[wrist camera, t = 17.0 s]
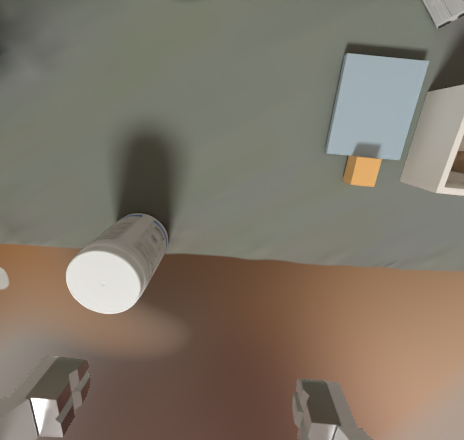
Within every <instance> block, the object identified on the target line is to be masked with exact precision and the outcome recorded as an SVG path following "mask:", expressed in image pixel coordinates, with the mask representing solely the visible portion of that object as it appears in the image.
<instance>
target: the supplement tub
mask: <svg viewBox="0 0 464 440" xmlns="http://www.w3.org/2000/svg"><path fill="white" fill-rule="evenodd" d="M167 247H168V235H167V232H166V230H165V228H164V226H163V225H162V224H161V223H160V222H159V221H158V220H157V219H155V218H154V217H152V216H150V215H147V214H142V213H134V214H129V215H127V216H124V217H123V218H121V219H120V220H119V221H117V222H116V223H115V224H114V225H112V226H111V227H110V228H109V229H107V230H106V231H105V232H104V233H102V234H101V235H100V236H99V237H97V238H96V239H95V240H94V241H92V242H91V243H90V244H88V245H87V246H86V247H85V248H84V249H82V250H81V251H80V252H79V253H78V254H77V255H76V257H75V258H74V259H73V260H72V261H71V262H70V264H69V266H68V268H67V271H66V282H67V286H68V288H69V290H70V292H71V293H72V295H73V297H74V298H75V299H76V300H77V301H78V302H79V303H80V304H82V305H83V306H85V307H86V308H88V309H90V310H93V311H95V312H99V313H105V314H114V313H119V312H123V311H125V310H127V309H129V308H130V307H131V306H133V305H134V304H135V302H136V301H137V300H138V298H139V297H140V296H141V295H142V293H143V291H144V290H145V288H146V286H147V284H148V283H149V281H150V279H151V277H152V275H153V274H154V272H155V270H156V268H157V266H158V264H159V263H160V261H161V259H162V257H163V255H164V254H165V252H166V250H167Z"/></svg>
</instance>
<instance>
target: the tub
mask: <svg viewBox="0 0 464 440" xmlns="http://www.w3.org/2000/svg"><path fill="white" fill-rule="evenodd" d="M463 136H464V85H459V86H454V87H449V88H444V89H439V90H434V91H429V92H427V95H426V98H425V101H424V104H423V108H422V111H421V114H420V117H419V120H418V124H417V127H416V130H415V133H414V136H413V140H412V143H411V146H410V149H409V153H408V156H407V159H406V162H405V165H404V169H403V172H402V175H401V178H400V182H403V183H406V184H410V185H413V186H416V187H419V188H422V189H426V190H429V191H432V192H435V193H444V194H454V195H464V174H463V173H458V172H453V171H450V170H451V168H452V165H453V162H454V160H455V157H456V154H457V152H458V151H464V137H463Z"/></svg>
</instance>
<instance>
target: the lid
mask: <svg viewBox="0 0 464 440" xmlns="http://www.w3.org/2000/svg"><path fill="white" fill-rule="evenodd" d="M428 64H429V61H422V60H412V59H402V58H392V57H382V56H371V55H361V54H351V53H347V54H345V55H344V60H343V65H342V70H341V75H340V79H339V84H338V89H337V94H336V99H335V104H334V109H333V114H332V119H331V124H330V129H329V133H328V138H327V143H326V148H325V153H329V154H339V155H349V156H348V161H347V165H346V169H345V173H344V178H343V181H344V182H346V183H348V184H350V185H360V186H371V187H374V185H375V182H376V178H377V174H378V171H379V167H380V164H381V160H382V159H392V160H400V157H401V153H402V150H403V147H404V143H405V140H406V137H407V134H408V130H409V127H410V124H411V120H412V117H413V114H414V110H415V107H416V104H417V100H418V97H419V94H420V90H421V87H422V84H423V80H424V77H425V74H426V70H427V67H428ZM378 158H381V159H378Z"/></svg>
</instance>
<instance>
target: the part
mask: <svg viewBox="0 0 464 440" xmlns="http://www.w3.org/2000/svg"><path fill="white" fill-rule="evenodd" d="M450 171H453V172H458V173H463V174H464V151H458V152H457V154H456V157H455V160H454V162H453V165H452V168H451V170H450Z"/></svg>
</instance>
